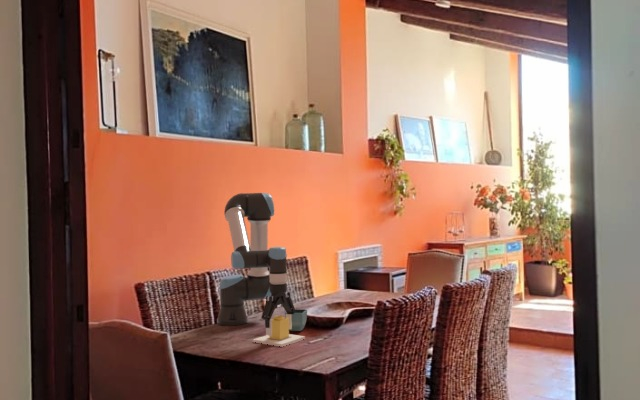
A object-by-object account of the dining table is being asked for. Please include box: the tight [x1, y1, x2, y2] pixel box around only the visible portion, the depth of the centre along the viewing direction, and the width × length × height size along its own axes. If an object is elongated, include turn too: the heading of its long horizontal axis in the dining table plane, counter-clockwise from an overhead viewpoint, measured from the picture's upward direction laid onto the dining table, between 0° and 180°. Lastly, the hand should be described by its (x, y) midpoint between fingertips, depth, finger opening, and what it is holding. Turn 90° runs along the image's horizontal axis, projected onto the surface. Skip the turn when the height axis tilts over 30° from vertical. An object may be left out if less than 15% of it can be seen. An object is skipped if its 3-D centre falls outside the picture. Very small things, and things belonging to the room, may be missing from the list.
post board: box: [252, 333, 306, 348], centre depth 253 cm, size 16×16×6 cm
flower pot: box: [284, 308, 308, 332], centre depth 273 cm, size 9×9×9 cm
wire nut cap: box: [269, 314, 290, 340], centre depth 253 cm, size 6×6×9 cm
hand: (279, 332), depth 253 cm, fingers open, 13 cm apart
